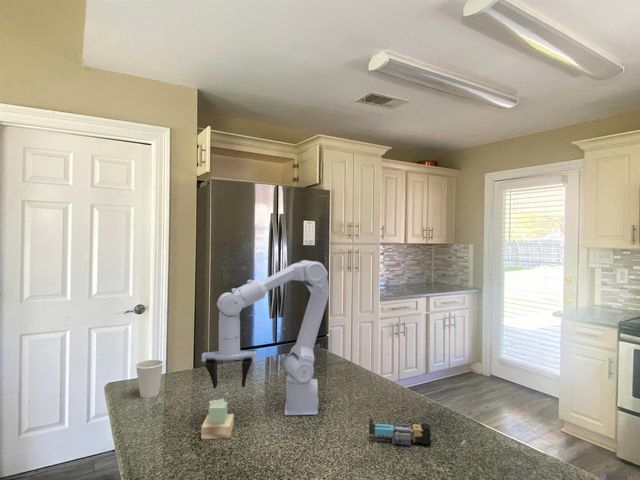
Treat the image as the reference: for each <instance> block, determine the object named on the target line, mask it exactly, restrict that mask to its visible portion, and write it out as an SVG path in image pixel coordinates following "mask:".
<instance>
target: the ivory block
mask: <svg viewBox="0 0 640 480" xmlns="http://www.w3.org/2000/svg"><path fill="white" fill-rule="evenodd" d="M212 402H226V401H225V399H224V398H220V399H214V400H209V401H208V408H209V407H210V405H211V403H212Z"/></svg>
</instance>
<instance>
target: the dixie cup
mask: <svg viewBox="0 0 640 480" xmlns="http://www.w3.org/2000/svg"><path fill="white" fill-rule="evenodd" d="M164 363H165V362H164V360H161V359H146V360H142V361H139V362H137V363H136V364H135V369H136V376H137V384H138V391H139V396H140V398H142V399H144V398H145V399H149V398H153V397H156V396H158V395H159V394H160V390H161V389H160V388H161V383H162V374H163V367H164Z"/></svg>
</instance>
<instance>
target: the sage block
mask: <svg viewBox="0 0 640 480" xmlns="http://www.w3.org/2000/svg"><path fill="white" fill-rule="evenodd" d="M228 404H229V403H228V401H225V402H212V403H211V405H210V407H209V406H208V415H209V424H225V421H226V419H227V414H228Z"/></svg>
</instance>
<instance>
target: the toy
mask: <svg viewBox="0 0 640 480" xmlns="http://www.w3.org/2000/svg"><path fill="white" fill-rule="evenodd" d="M368 425H369V430H368V433H369V435H375V436H388V437H391V442H390V441H388V440H386V443H387V444H389V445H390V444H391V445H404V446H408V447H412V441H413V443H417V444H422V445H428V444H432V440H431V427H430V424H429V423H427V422H424V423H420V424H415V423H413V424H412V426H411V424H409V423H407V424H405V423H398V422H394V423H393V424H387V423H386V424H385V423H374V419H373V418H369V424H368Z"/></svg>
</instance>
